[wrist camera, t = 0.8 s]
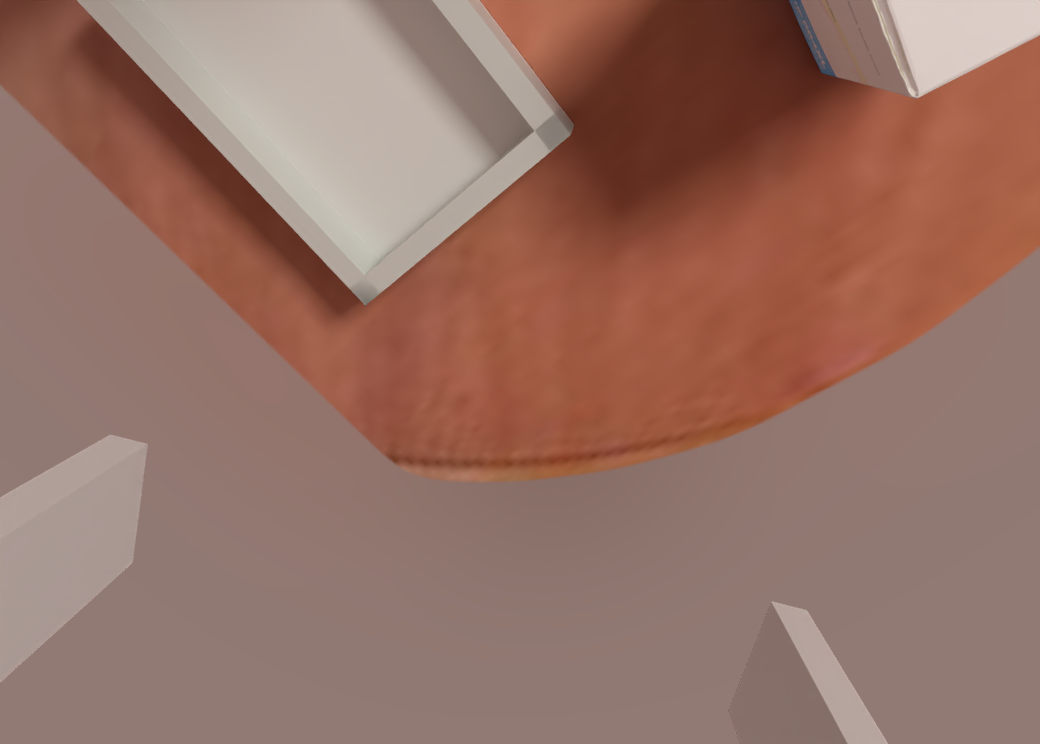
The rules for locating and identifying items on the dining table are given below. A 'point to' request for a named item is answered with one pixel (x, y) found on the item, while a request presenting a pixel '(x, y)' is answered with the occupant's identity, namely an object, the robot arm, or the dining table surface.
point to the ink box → (912, 38)
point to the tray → (351, 113)
